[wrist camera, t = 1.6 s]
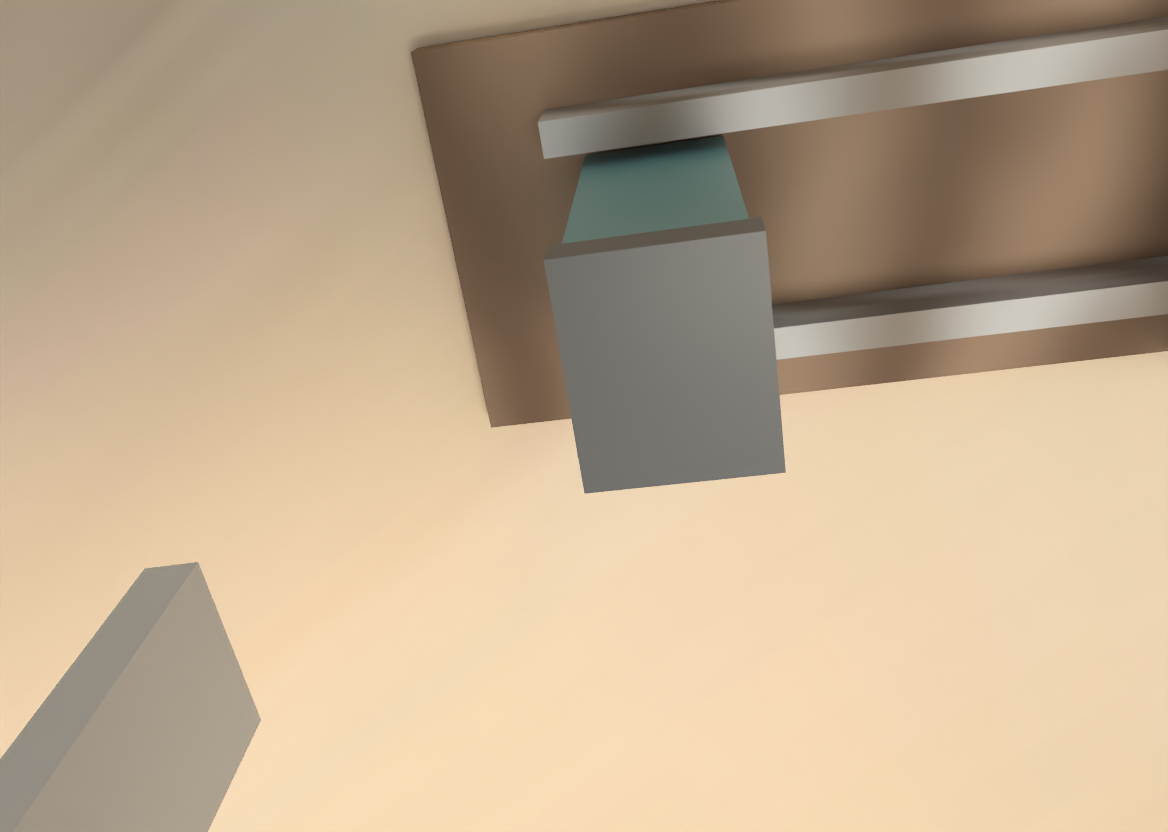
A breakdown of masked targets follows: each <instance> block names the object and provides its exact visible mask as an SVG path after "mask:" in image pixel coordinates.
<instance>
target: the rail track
mask: <svg viewBox="0 0 1168 832" xmlns="http://www.w3.org/2000/svg"><path fill="white" fill-rule="evenodd" d="M411 54H412V59H413V63H414V68H415V73H416V77H417V82H418V87H419V91H420V96H421V101H422V105H423V110H424V115H425V120H426V124H427V129H428V134H429V138H430V143H431V148H432V152H433V157H434V162H435V166H436V171H437V176H438V180H439V185H440V190H441V194H442V199H443V204H444V209H445V213H446V218H447V223H448V227H449V232H450V237H451V241H452V246H453V251H454V255H455V260H456V265H457V269H458V274H459V279H460V283H461V288H462V293H463V298H464V302H465V307H466V312H467V316H468V321H469V326H470V330H471V335H472V340H473V344H474V349H475V354H476V358H477V363H478V368H479V372H480V377H481V382H482V386H483V391H484V396H485V401H486V405H487V410H488V415H489V419H490V424H491V427H499V426H508V425H517V424H526V423H535V422H543V421H552V420H561V419H570V418H571V413H570V407H569V401H568V396H567V390H566V384H565V379H564V373H563V367H562V362H561V356H560V350H559V345H558V339H557V333H556V328H555V322H554V316H553V311H552V305H551V299H550V293H549V288H548V282H547V276H546V271H545V265H544V257H545V254H546V251H547V247H548V245H555V244H562V241H563V237H564V233H565V230H566V226H567V222H568V218H569V215H570V211H571V207H572V204H573V200H574V196H575V192H576V189H577V185H578V181H579V177H580V174H581V170H582V166H583V163H584V159H585V155H591V154H598V153H605V152H612V151H619V150H626V149H633V148H640V147H647V146H654V145H661V144H668V143H675V142H682V141H689V140H696V139H703V138H710V137H717V136H724V139H725V142H726V146H727V149H728V152H729V155H730V158H731V162H732V165H733V168H734V171H735V175H736V178H737V181H738V184H739V187H740V191H741V194H742V197H743V200H744V203H745V207H746V210H747V213H748V216H749V219H750V218H758V217H761V218H762V221H763V224H764V227H765V229H766V237H767V250H768V262H769V274H770V287H771V299H772V311H773V324H774V336H775V348H776V361H777V373H778V385H779V395H782V394H791V393H800V392H809V391H818V390H826V389H835V388H844V387H853V386H862V385H871V384H879V383H888V382H897V381H906V380H915V379H924V378H932V377H941V376H950V375H959V374H968V373H977V372H986V371H994V370H1003V369H1012V368H1021V367H1030V366H1039V365H1047V364H1056V363H1065V362H1074V361H1083V360H1092V359H1100V358H1109V357H1118V356H1127V355H1136V354H1145V353H1154V352H1162V351H1168V0H719V1H713V2H706V3H700V4H694V5H688V6H681V7H675V8H669V9H662V10H656V11H650V12H643V13H637V14H631V15H624V16H618V17H612V18H605V19H599V20H593V21H587V22H580V23H574V24H568V25H561V26H555V27H549V28H542V29H536V30H530V31H523V32H517V33H511V34H504V35H498V36H492V37H486V38H479V39H473V40H467V41H460V42H454V43H448V44H441V45H435V46H429V47H422V48H418V49H416V50H414V51H413V52H411Z"/></svg>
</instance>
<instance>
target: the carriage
mask: <svg viewBox="0 0 1168 832" xmlns="http://www.w3.org/2000/svg"><path fill="white" fill-rule="evenodd" d="M544 265H545V271H546V276H547V282H548V288H549V293H550V299H551V305H552V311H553V316H554V322H555V328H556V333H557V339H558V345H559V350H560V356H561V362H562V367H563V373H564V379H565V384H566V390H567V396H568V401H569V407H570V413H571V418H572V424H573V430H574V435H575V441H576V447H577V452H578V458H579V464H580V469H581V475H582V481H583V486H584V492H585V493H594V492H603V491H613V490H622V489H632V488H642V487H651V486H661V485H670V484H680V483H689V482H699V481H709V480H718V479H728V478H737V477H747V476H757V475H766V474H776V473H785V459H784V447H783V435H782V422H781V410H780V398H779V385H778V373H777V361H776V348H775V336H774V324H773V311H772V299H771V287H770V274H769V262H768V250H767V237H766V229H765V227H764V224H763V221H762V218H761V217H758V218H750V219H749V216H748V213H747V210H746V207H745V203H744V200H743V197H742V194H741V191H740V187H739V184H738V181H737V178H736V175H735V171H734V168H733V165H732V162H731V158H730V155H729V152H728V149H727V146H726V142H725V139H724V136H717V137H710V138H703V139H696V140H689V141H682V142H675V143H668V144H661V145H654V146H647V147H640V148H633V149H626V150H619V151H612V152H605V153H598V154H591V155H585V159H584V163H583V166H582V170H581V174H580V177H579V181H578V185H577V189H576V192H575V196H574V200H573V204H572V207H571V211H570V215H569V218H568V222H567V226H566V230H565V233H564V237H563V241H562V244H555V245H548V247H547V251H546V254H545V257H544Z"/></svg>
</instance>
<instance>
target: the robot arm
mask: <svg viewBox="0 0 1168 832" xmlns="http://www.w3.org/2000/svg"><path fill="white" fill-rule="evenodd" d="M260 720H261V719H260V716H259V714H258V711H257V709H256V706H255V704H254V701H253V699H252V696H251V694H250V691H249V689H248V686H247V684H246V681H245V679H244V676H243V674H242V671H241V669H240V666H239V664H238V661H237V659H236V656H235V654H234V651H233V649H232V646H231V644H230V641H229V639H228V636H227V634H226V631H225V629H224V626H223V624H222V621H221V619H220V616H219V614H218V611H217V609H216V606H215V604H214V601H213V599H212V596H211V594H210V591H209V589H208V586H207V584H206V581H205V579H204V576H203V574H202V571H201V569H200V566H199V564H198V562H195V563H187V564H179V565H171V566H163V567H155V568H147V569H144V570H143V572H142V573H141V574H140V576H139V577H138V578H137V580H136V581H135V582H134V584H133V585H132V586H131V588H130V589H129V590H128V592H127V593H126V594H125V596H124V597H123V598H122V599H121V601H120V602H119V603H118V605H117V606H116V607H115V609H114V610H113V611H112V613H111V614H110V615H109V617H108V618H107V619H106V621H105V622H104V623H103V625H102V626H101V627H100V629H99V630H98V631H97V632H96V634H95V635H94V636H93V638H92V639H91V640H90V642H89V643H88V644H87V646H86V647H85V648H84V650H83V651H82V652H81V654H80V655H79V656H78V658H77V659H76V660H75V661H74V663H73V664H72V665H71V667H70V668H69V669H68V671H67V672H66V673H65V675H64V676H63V677H62V679H61V680H60V681H59V683H58V684H57V685H56V687H55V688H54V689H53V690H52V692H51V693H50V694H49V696H48V697H47V698H46V700H45V701H44V702H43V704H42V705H41V706H40V708H39V709H38V710H37V712H36V713H35V714H34V716H33V717H32V718H31V719H30V721H29V722H28V723H27V725H26V726H25V727H24V729H23V730H22V731H21V733H20V734H19V735H18V737H17V738H16V739H15V741H14V742H13V743H12V745H11V746H10V747H9V749H8V750H7V751H6V752H5V754H4V755H3V756H2V758H1V759H0V832H208V830H209V828H210V825H211V823H212V821H213V819H214V817H215V815H216V813H217V811H218V809H219V807H220V804H221V802H222V800H223V798H224V796H225V794H226V792H227V790H228V788H229V786H230V783H231V781H232V779H233V777H234V775H235V773H236V771H237V769H238V767H239V765H240V762H241V760H242V758H243V756H244V754H245V752H246V750H247V748H248V746H249V743H250V741H251V739H252V737H253V735H254V733H255V731H256V729H257V727H258V725H259V722H260Z"/></svg>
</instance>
